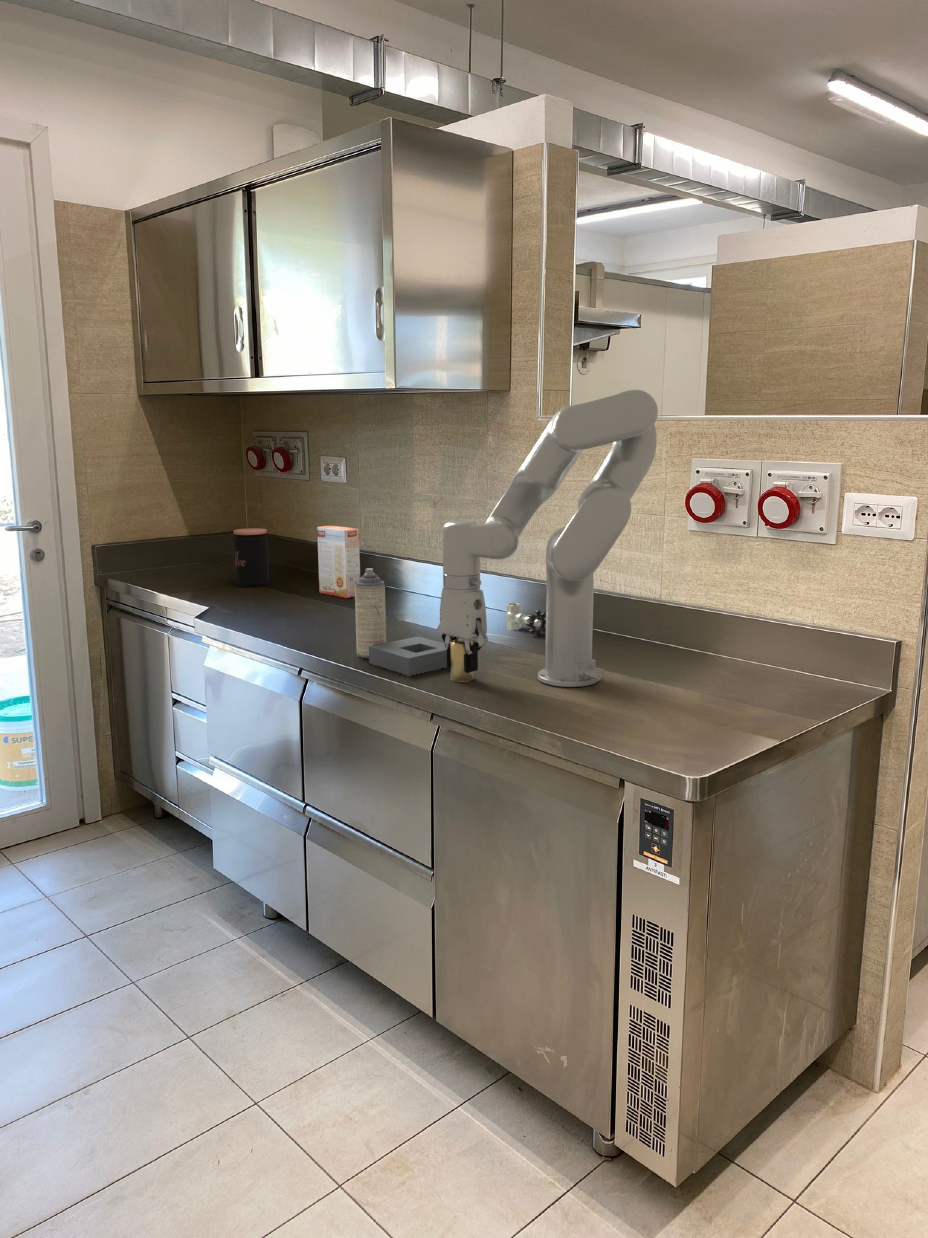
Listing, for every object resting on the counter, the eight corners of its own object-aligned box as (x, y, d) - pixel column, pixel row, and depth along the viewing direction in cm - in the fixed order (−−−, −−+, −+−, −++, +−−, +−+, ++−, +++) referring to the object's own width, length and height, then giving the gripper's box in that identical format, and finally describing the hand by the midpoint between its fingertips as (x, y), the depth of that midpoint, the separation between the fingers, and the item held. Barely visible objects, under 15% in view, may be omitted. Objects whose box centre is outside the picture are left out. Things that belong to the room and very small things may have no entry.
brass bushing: (478, 679, 191) (478, 642, 190) (461, 683, 188) (461, 645, 187) (463, 674, 195) (462, 638, 193) (445, 679, 192) (445, 641, 190)
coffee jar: (235, 583, 306) (232, 528, 302) (268, 581, 309) (265, 527, 305) (237, 588, 296) (234, 532, 292) (271, 586, 299) (268, 531, 295)
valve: (498, 629, 237) (528, 638, 228) (498, 604, 236) (528, 612, 226) (518, 626, 241) (548, 634, 231) (518, 601, 240) (549, 608, 230)
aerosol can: (391, 653, 213) (389, 567, 209) (378, 660, 207) (376, 572, 203) (365, 650, 216) (362, 565, 212) (351, 657, 210) (348, 570, 205)
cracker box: (362, 596, 282) (360, 528, 277) (346, 599, 278) (343, 529, 273) (334, 590, 291) (332, 524, 287) (318, 593, 287) (316, 526, 283)
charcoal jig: (458, 664, 203) (458, 647, 202) (408, 676, 194) (408, 658, 193) (418, 653, 213) (418, 636, 212) (369, 664, 204) (368, 646, 203)
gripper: (504, 585, 184) (503, 673, 187) (448, 575, 196) (449, 658, 200) (476, 590, 179) (476, 680, 183) (420, 579, 191) (422, 664, 195)
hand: (462, 668), depth 191 cm, fingers closed on brass bushing, 4 cm apart
